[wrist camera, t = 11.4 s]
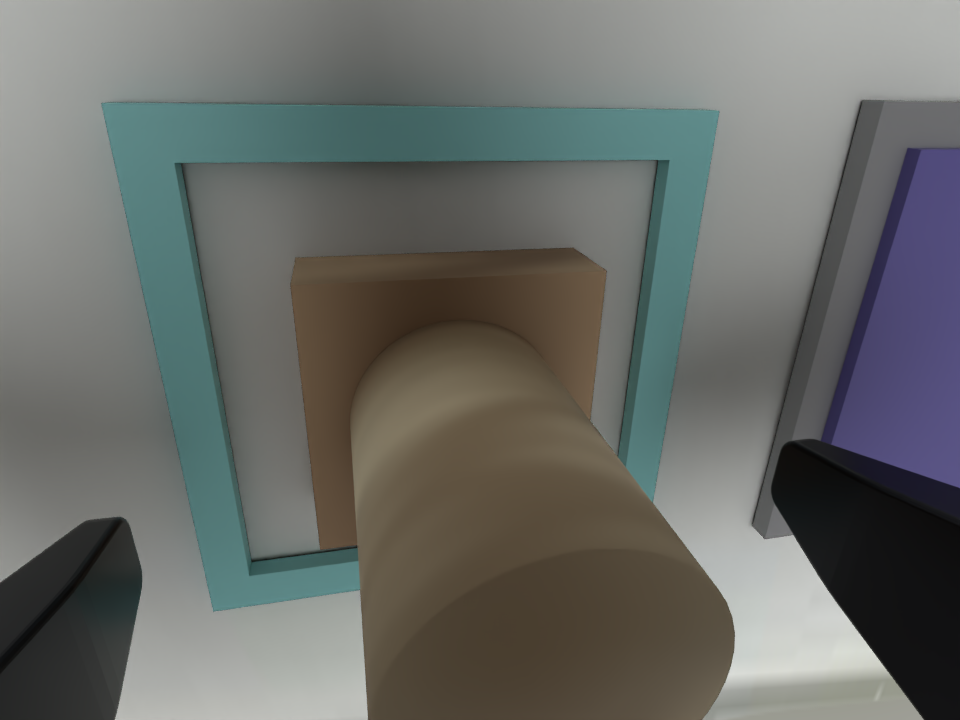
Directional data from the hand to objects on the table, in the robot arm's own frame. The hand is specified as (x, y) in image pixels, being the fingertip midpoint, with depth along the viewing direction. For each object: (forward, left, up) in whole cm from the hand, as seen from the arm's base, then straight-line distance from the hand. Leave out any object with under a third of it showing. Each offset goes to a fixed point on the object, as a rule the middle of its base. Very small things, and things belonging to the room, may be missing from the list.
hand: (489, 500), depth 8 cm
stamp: (0, 0, -4) cm, 4 cm away
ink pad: (-13, 0, -4) cm, 14 cm away
